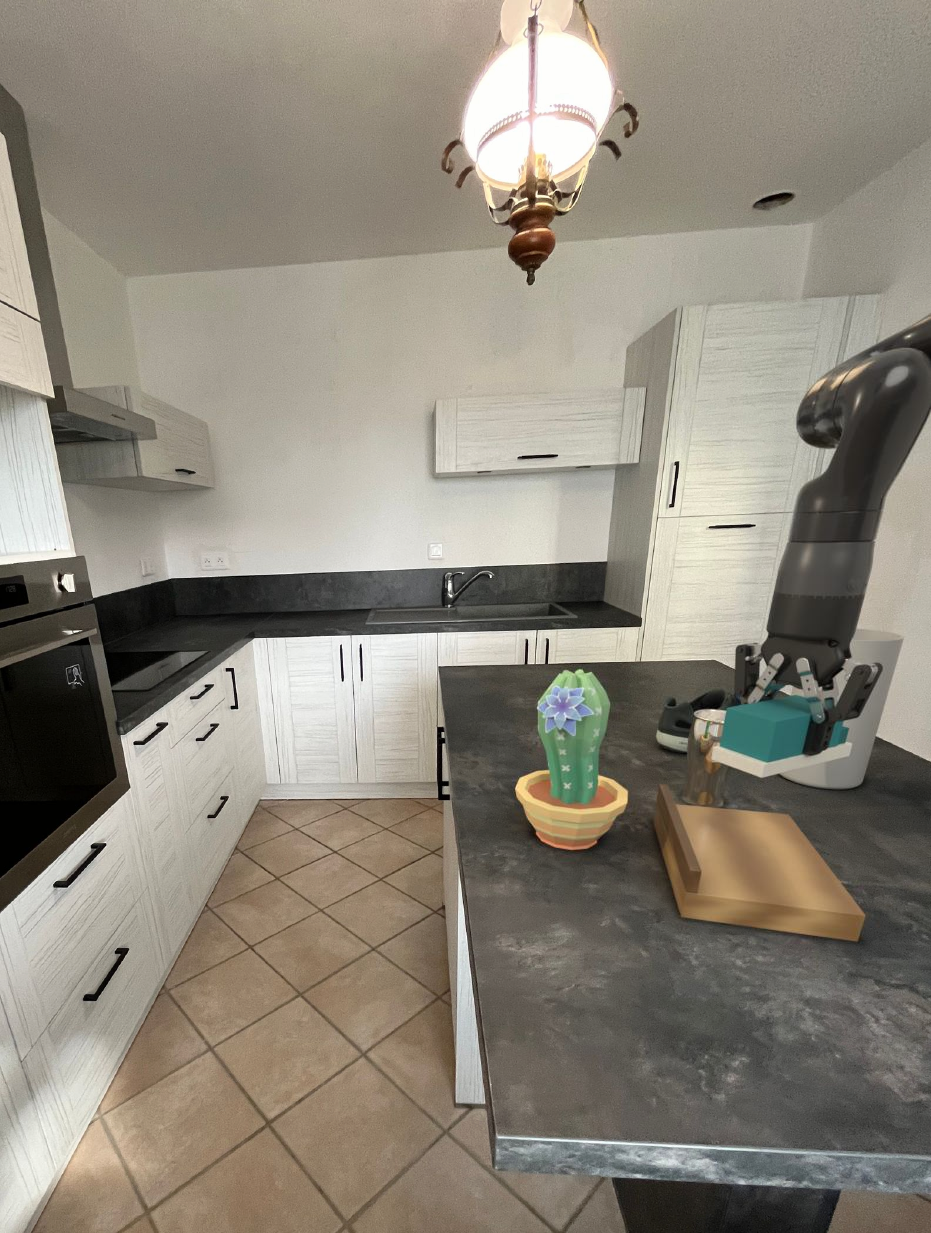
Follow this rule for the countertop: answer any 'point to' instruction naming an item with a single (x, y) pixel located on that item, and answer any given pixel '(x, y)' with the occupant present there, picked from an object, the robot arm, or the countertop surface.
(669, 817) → the wooden board with lip
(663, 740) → the water shoe
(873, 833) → the countertop surface
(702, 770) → the silver metal cup
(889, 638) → the cylinder vase
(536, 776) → the potted cactus
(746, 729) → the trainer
